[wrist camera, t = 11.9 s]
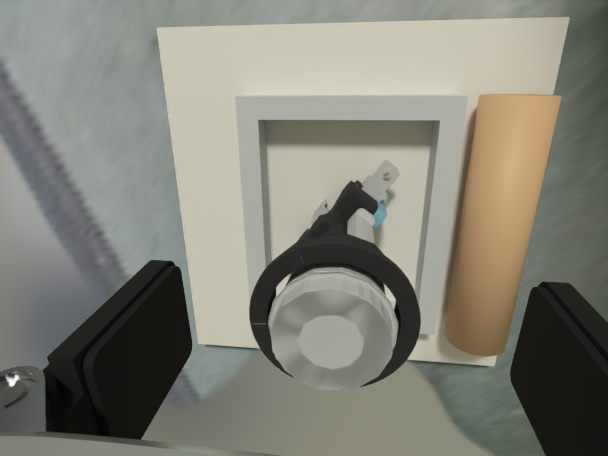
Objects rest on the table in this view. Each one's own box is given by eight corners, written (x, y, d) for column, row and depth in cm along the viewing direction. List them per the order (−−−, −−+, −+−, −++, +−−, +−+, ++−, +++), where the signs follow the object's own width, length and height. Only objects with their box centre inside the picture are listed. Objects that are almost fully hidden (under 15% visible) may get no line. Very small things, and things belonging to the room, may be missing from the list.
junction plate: (558, 20, 17) (615, 3, 13) (489, 354, 23) (514, 407, 20) (166, 30, 19) (120, 18, 15) (204, 334, 25) (178, 377, 22)
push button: (350, 129, 18) (345, 180, 9) (433, 195, 19) (506, 304, 10) (272, 228, 21) (207, 348, 12) (349, 284, 22) (345, 439, 12)
